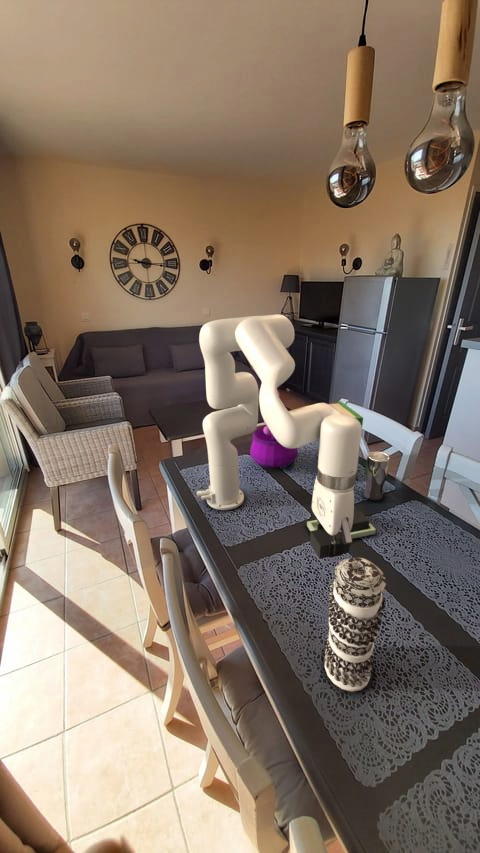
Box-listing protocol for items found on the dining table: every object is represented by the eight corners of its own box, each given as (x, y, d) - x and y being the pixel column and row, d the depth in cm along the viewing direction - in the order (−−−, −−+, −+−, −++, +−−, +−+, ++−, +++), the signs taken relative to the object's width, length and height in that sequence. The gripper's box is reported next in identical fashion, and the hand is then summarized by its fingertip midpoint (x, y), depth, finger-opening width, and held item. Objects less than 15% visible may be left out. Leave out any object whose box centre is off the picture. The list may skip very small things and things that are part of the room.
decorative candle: (340, 636, 75) (351, 541, 65) (381, 669, 69) (401, 569, 59) (312, 665, 70) (320, 566, 60) (354, 705, 63) (371, 601, 53)
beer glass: (385, 502, 117) (392, 462, 111) (363, 500, 118) (368, 460, 112) (382, 491, 123) (388, 452, 117) (361, 489, 124) (365, 450, 118)
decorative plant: (245, 454, 151) (243, 385, 139) (287, 448, 155) (289, 380, 143) (258, 477, 134) (257, 400, 122) (304, 469, 138) (308, 395, 126)
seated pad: (346, 534, 103) (347, 524, 101) (337, 523, 107) (338, 514, 106) (368, 530, 104) (369, 520, 103) (359, 519, 109) (360, 510, 107)
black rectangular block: (319, 559, 77) (320, 546, 76) (309, 543, 81) (310, 530, 80) (349, 552, 78) (350, 540, 77) (338, 537, 83) (339, 525, 81)
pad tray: (319, 546, 99) (320, 540, 99) (306, 527, 107) (307, 521, 106) (375, 535, 103) (375, 529, 102) (358, 516, 111) (359, 511, 110)
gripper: (302, 458, 79) (298, 524, 87) (339, 503, 64) (331, 579, 71) (333, 454, 81) (327, 519, 88) (377, 496, 66) (365, 571, 73)
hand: (329, 545), depth 80 cm, fingers closed on black rectangular block, 5 cm apart
